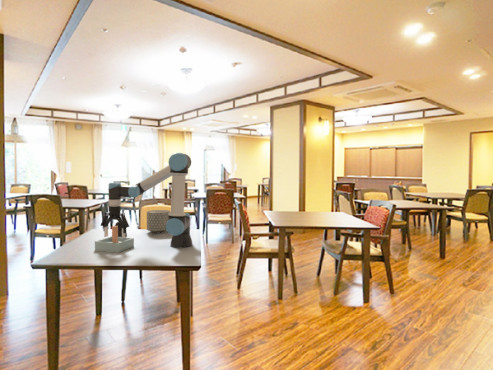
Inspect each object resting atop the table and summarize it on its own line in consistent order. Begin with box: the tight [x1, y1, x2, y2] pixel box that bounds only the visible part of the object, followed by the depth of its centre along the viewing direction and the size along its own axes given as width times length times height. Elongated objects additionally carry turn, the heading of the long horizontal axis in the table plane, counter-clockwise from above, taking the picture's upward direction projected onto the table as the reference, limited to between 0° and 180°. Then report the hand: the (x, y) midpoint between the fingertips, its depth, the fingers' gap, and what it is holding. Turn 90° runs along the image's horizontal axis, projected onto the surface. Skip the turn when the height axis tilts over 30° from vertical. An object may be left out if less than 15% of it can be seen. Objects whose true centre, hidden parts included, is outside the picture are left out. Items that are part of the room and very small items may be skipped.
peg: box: [111, 225, 118, 243], centre depth 204 cm, size 4×4×14 cm
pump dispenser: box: [114, 221, 128, 238], centre depth 223 cm, size 10×10×15 cm
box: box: [94, 235, 135, 254], centre depth 204 cm, size 18×16×6 cm
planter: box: [146, 209, 171, 234], centre depth 258 cm, size 19×19×18 cm
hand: (114, 237), depth 204 cm, fingers open, 13 cm apart
